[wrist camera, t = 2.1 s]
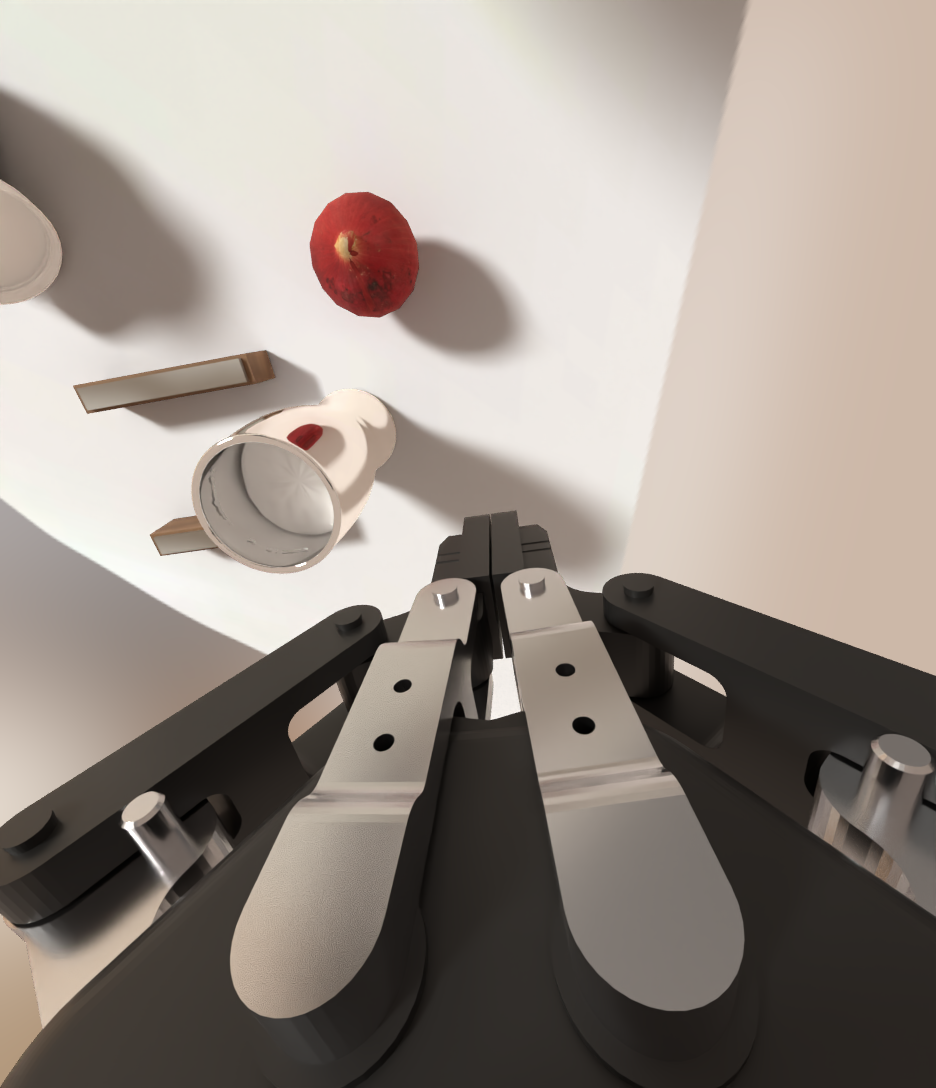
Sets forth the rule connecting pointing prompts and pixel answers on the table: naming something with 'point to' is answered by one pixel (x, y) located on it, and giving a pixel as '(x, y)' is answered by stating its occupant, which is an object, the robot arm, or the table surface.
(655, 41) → the table surface
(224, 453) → the beer glass
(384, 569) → the table surface
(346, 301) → the onion
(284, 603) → the table surface
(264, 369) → the cradle
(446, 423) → the table surface
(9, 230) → the spread jar
